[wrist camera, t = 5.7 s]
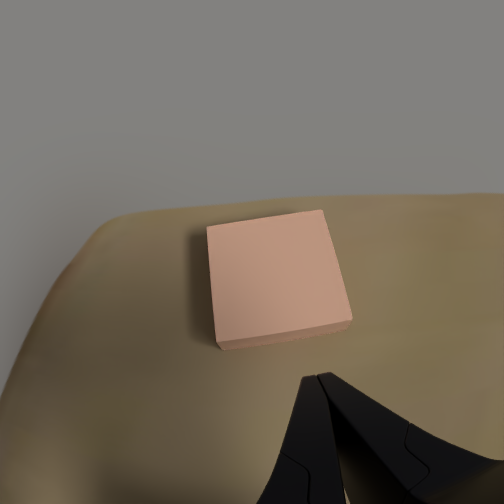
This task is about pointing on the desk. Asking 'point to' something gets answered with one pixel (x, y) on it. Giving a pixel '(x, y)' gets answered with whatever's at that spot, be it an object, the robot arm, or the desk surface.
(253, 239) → the tile
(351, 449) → the robot arm
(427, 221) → the desk surface
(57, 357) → the desk surface
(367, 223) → the desk surface
